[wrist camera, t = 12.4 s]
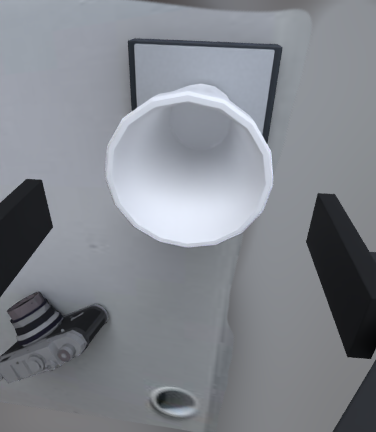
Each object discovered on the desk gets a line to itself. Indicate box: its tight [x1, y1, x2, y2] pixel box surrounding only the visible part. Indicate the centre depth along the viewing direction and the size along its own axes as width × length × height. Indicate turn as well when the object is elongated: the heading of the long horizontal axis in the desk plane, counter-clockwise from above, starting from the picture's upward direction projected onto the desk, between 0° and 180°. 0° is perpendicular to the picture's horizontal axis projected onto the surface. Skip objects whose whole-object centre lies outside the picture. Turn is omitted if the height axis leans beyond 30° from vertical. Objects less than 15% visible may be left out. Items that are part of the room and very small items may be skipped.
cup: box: [105, 84, 273, 248], centre depth 26 cm, size 10×10×13 cm
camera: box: [0, 292, 108, 383], centre depth 47 cm, size 16×9×10 cm, turn 120°
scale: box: [128, 38, 282, 143], centre depth 33 cm, size 13×13×4 cm
